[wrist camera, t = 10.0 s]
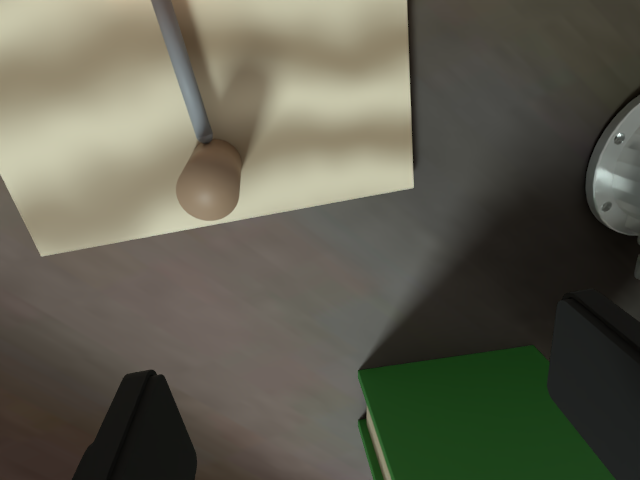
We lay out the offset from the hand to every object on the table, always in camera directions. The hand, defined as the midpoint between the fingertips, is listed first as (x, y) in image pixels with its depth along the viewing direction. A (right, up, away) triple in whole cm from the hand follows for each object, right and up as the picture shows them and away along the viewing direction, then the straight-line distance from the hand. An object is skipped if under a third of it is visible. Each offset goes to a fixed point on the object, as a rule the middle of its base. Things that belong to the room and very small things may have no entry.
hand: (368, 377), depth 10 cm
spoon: (-9, +15, +14) cm, 22 cm away
